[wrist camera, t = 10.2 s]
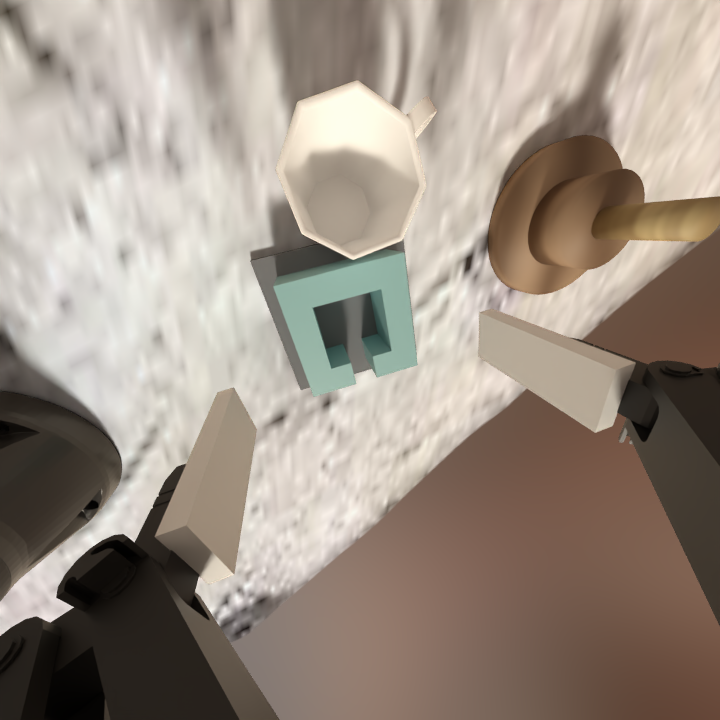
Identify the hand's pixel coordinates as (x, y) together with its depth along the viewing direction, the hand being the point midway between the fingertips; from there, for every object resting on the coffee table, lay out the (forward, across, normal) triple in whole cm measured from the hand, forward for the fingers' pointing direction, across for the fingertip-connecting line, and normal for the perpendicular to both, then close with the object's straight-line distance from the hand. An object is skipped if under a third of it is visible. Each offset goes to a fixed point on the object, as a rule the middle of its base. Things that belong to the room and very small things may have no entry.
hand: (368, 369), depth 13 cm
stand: (+10, +21, +3) cm, 23 cm away
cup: (+11, +3, +8) cm, 14 cm away
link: (+10, +1, 0) cm, 10 cm away
